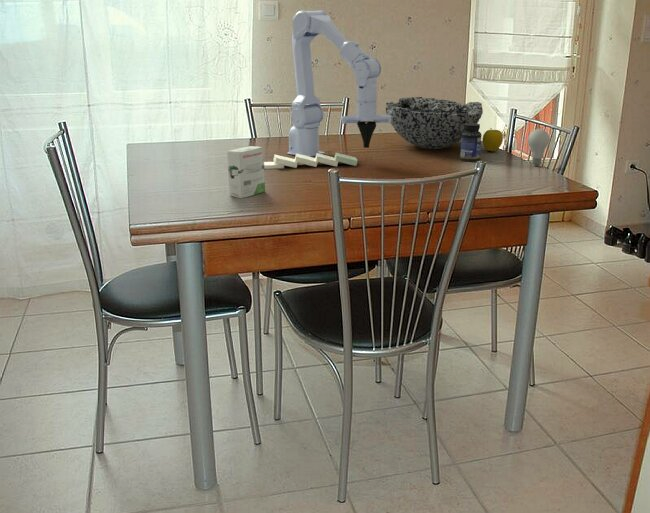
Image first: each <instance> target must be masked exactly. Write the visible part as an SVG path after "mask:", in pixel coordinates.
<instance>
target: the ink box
mask: <svg viewBox="0 0 650 513" xmlns="http://www.w3.org/2000/svg"><path fill="white" fill-rule="evenodd" d="M264 152H265V151H264V147H262V146H257V145H256V146H252V145H249V146H245V147H240V148H235V149H230V150H227V153H226V154H227V165H228V166H227V167H228V168H227V170H228V185H229V186H228V187H229V188H228V189H229V190H228V191H229V196H231V197H234V198H239V199H245V198H247V197H251V196H255V195H257V194H263V193H265V192H266V179H265V169H264V162H265V153H264Z"/></svg>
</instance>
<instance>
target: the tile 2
mask: <svg viewBox="0 0 650 513" xmlns="http://www.w3.org/2000/svg"><path fill="white" fill-rule="evenodd" d="M272 160H273V162H275V163H277V164H281V165H284V167H285V166H286V167H290V168H295V169H297V167H298V162H295V158H293V157H292V158H291V157H287V156H283V155H278V154H273V159H272Z"/></svg>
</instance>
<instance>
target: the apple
mask: <svg viewBox="0 0 650 513" xmlns="http://www.w3.org/2000/svg"><path fill="white" fill-rule="evenodd" d="M503 140H504V135H503V132H502V131H501V130H499V129H492V128H491V127H490V129H488V130H486V131H484V133H483V135H482V138H481V142H482V145H483V148H484V149H485V150H486V151H489V152H496V151H498V149H499V148H500V147H501V146H502V144H503Z"/></svg>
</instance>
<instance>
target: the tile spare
mask: <svg viewBox="0 0 650 513" xmlns="http://www.w3.org/2000/svg"><path fill="white" fill-rule="evenodd" d="M334 158H335V161H338V163H343V164H346V165H350V166H353V167H357V164H358V159H357V157H355V156H351V155H347V154H344V153H343V154H342V153H339V152H335V154H334Z"/></svg>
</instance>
